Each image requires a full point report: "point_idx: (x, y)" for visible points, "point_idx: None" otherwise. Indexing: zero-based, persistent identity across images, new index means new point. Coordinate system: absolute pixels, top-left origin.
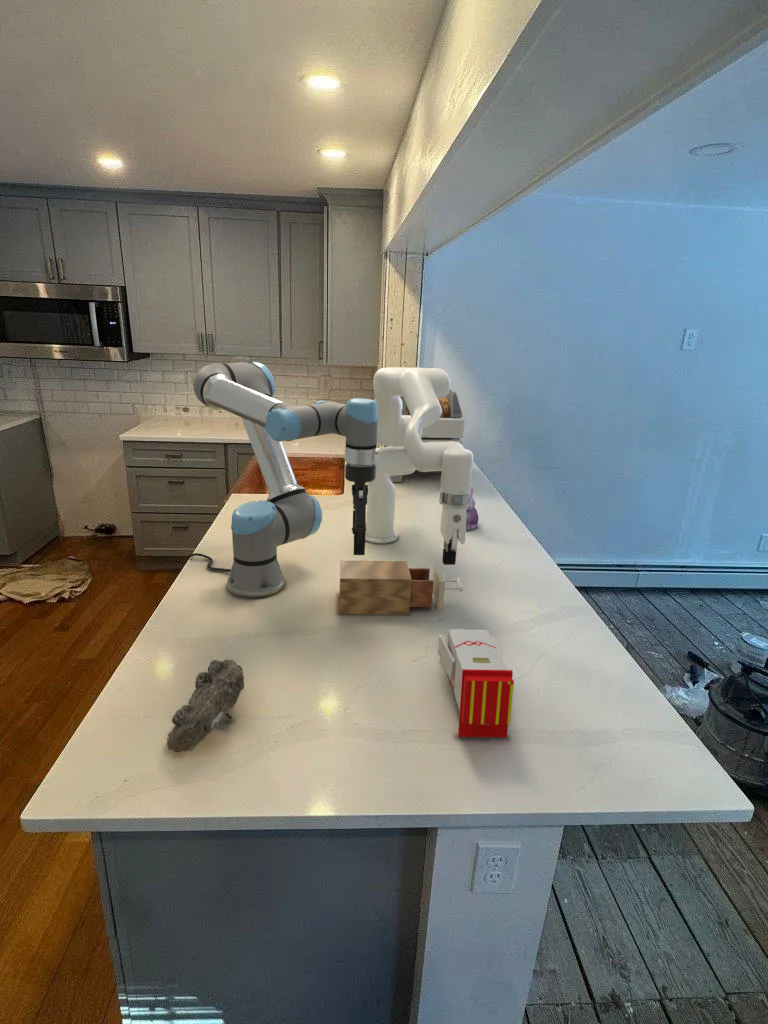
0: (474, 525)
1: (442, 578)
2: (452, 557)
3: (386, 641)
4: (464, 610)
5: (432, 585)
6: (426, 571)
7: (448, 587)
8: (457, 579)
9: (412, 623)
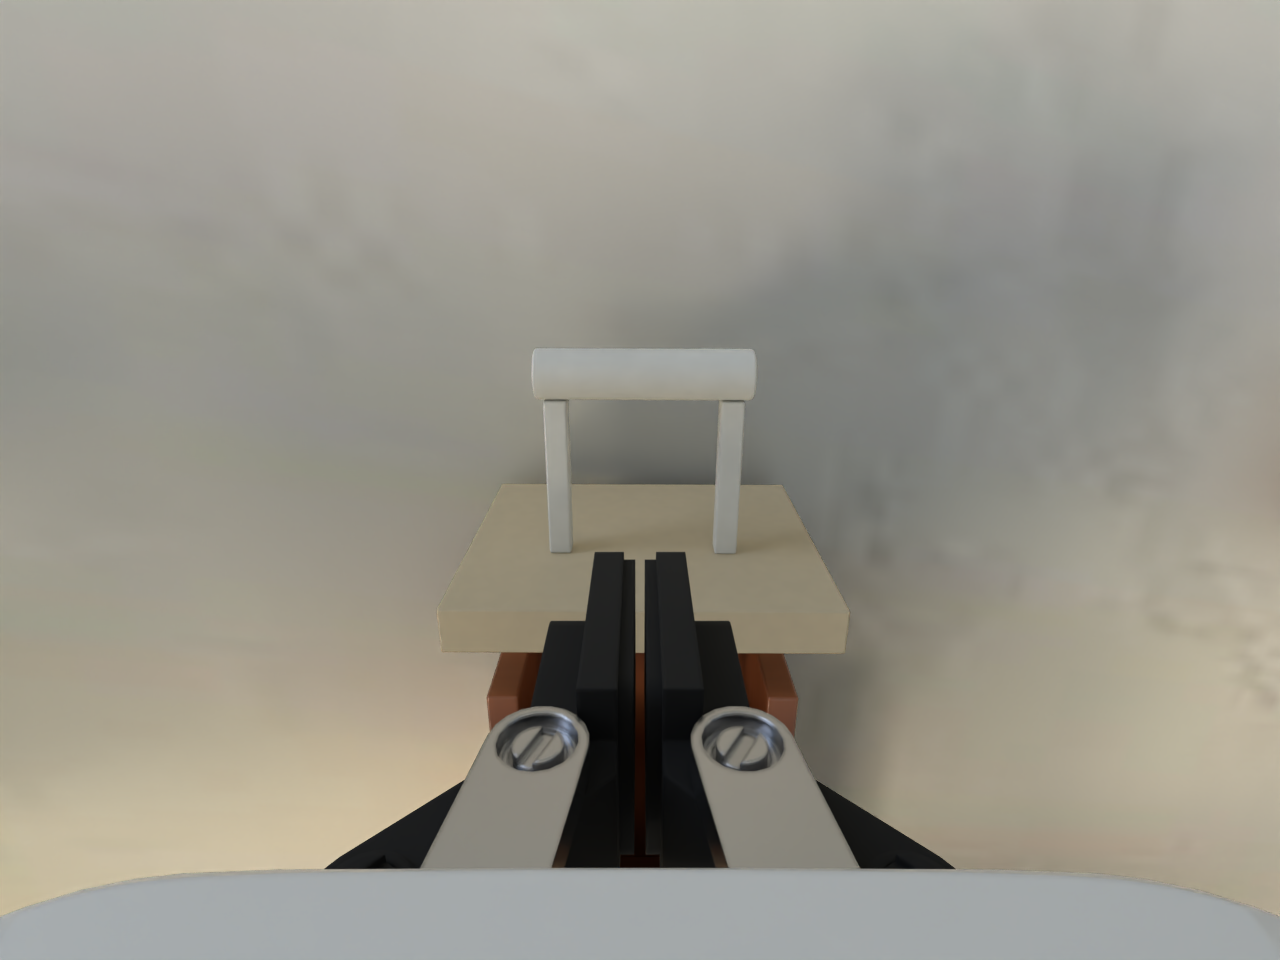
0: None
1: (763, 621)
2: (739, 679)
3: (1047, 805)
4: (738, 292)
5: (790, 678)
6: (522, 708)
7: (730, 499)
8: (569, 384)
9: (882, 668)
